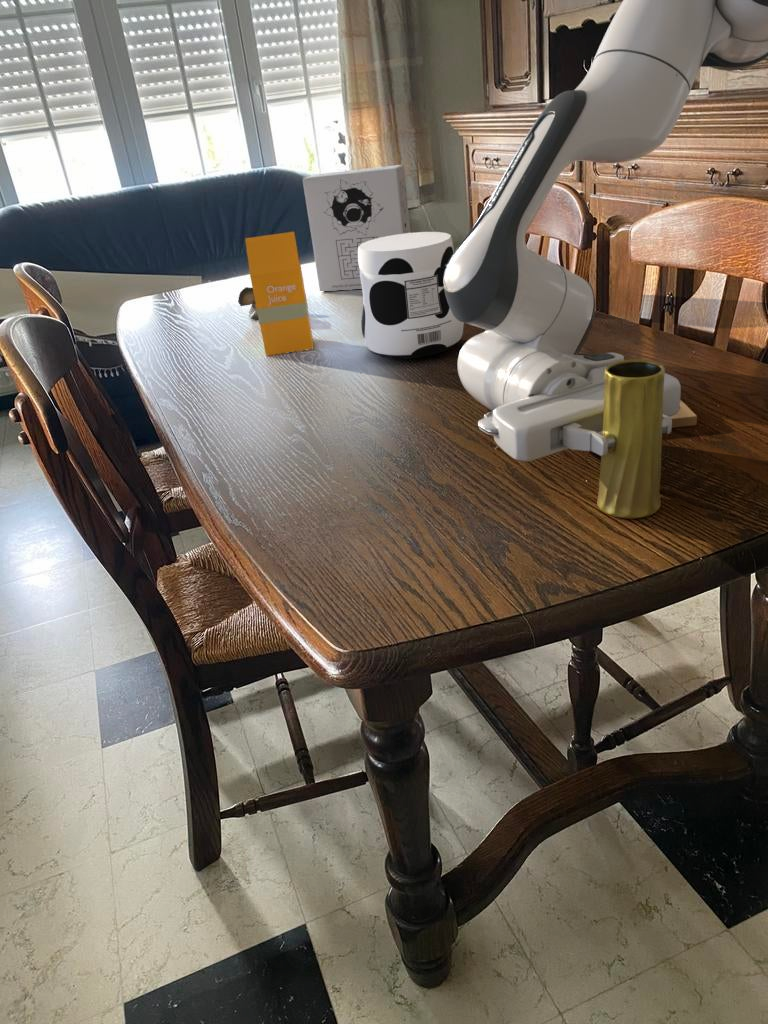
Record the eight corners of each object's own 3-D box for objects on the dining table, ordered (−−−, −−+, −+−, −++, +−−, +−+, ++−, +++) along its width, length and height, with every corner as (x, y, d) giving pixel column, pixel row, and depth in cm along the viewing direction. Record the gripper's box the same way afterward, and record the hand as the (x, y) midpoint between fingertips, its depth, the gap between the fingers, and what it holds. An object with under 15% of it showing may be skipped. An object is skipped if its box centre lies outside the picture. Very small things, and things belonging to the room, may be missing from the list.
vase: (588, 494, 78) (591, 362, 71) (646, 486, 78) (654, 354, 71) (608, 523, 72) (612, 383, 66) (670, 514, 72) (681, 374, 66)
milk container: (402, 332, 139) (391, 230, 130) (484, 338, 130) (478, 229, 121) (345, 361, 127) (329, 252, 119) (430, 371, 118) (419, 253, 109)
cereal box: (415, 279, 178) (404, 164, 165) (408, 286, 171) (397, 168, 159) (328, 285, 183) (312, 174, 171) (319, 292, 177) (301, 178, 165)
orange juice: (267, 344, 143) (245, 235, 133) (313, 338, 143) (295, 228, 133) (265, 356, 136) (242, 242, 126) (313, 349, 136) (294, 234, 126)
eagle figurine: (236, 308, 167) (231, 310, 159) (249, 278, 166) (244, 278, 157) (268, 323, 169) (264, 326, 160) (280, 293, 167) (277, 295, 158)
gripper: (468, 393, 77) (546, 435, 66) (627, 348, 84) (723, 380, 72) (471, 448, 80) (547, 497, 69) (625, 401, 87) (717, 439, 75)
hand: (638, 437), depth 71 cm, fingers closed on vase, 5 cm apart
